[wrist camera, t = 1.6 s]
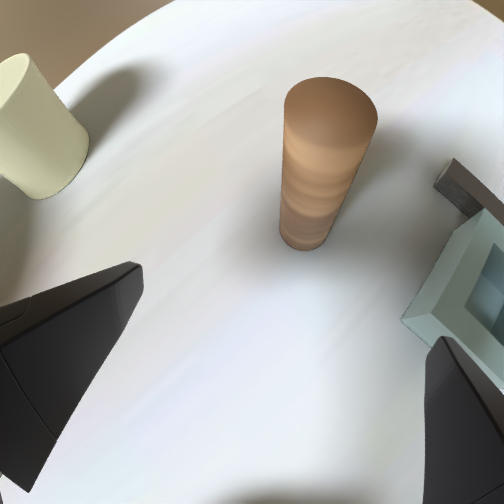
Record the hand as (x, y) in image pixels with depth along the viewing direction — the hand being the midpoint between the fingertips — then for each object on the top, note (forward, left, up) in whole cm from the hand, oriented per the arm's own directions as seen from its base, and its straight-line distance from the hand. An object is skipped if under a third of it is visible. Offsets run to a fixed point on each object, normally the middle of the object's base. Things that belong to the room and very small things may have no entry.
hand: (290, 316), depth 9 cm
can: (+16, +22, -14) cm, 31 cm away
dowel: (+7, -2, -13) cm, 15 cm away
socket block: (0, -15, -13) cm, 20 cm away
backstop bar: (+6, -20, -13) cm, 25 cm away
